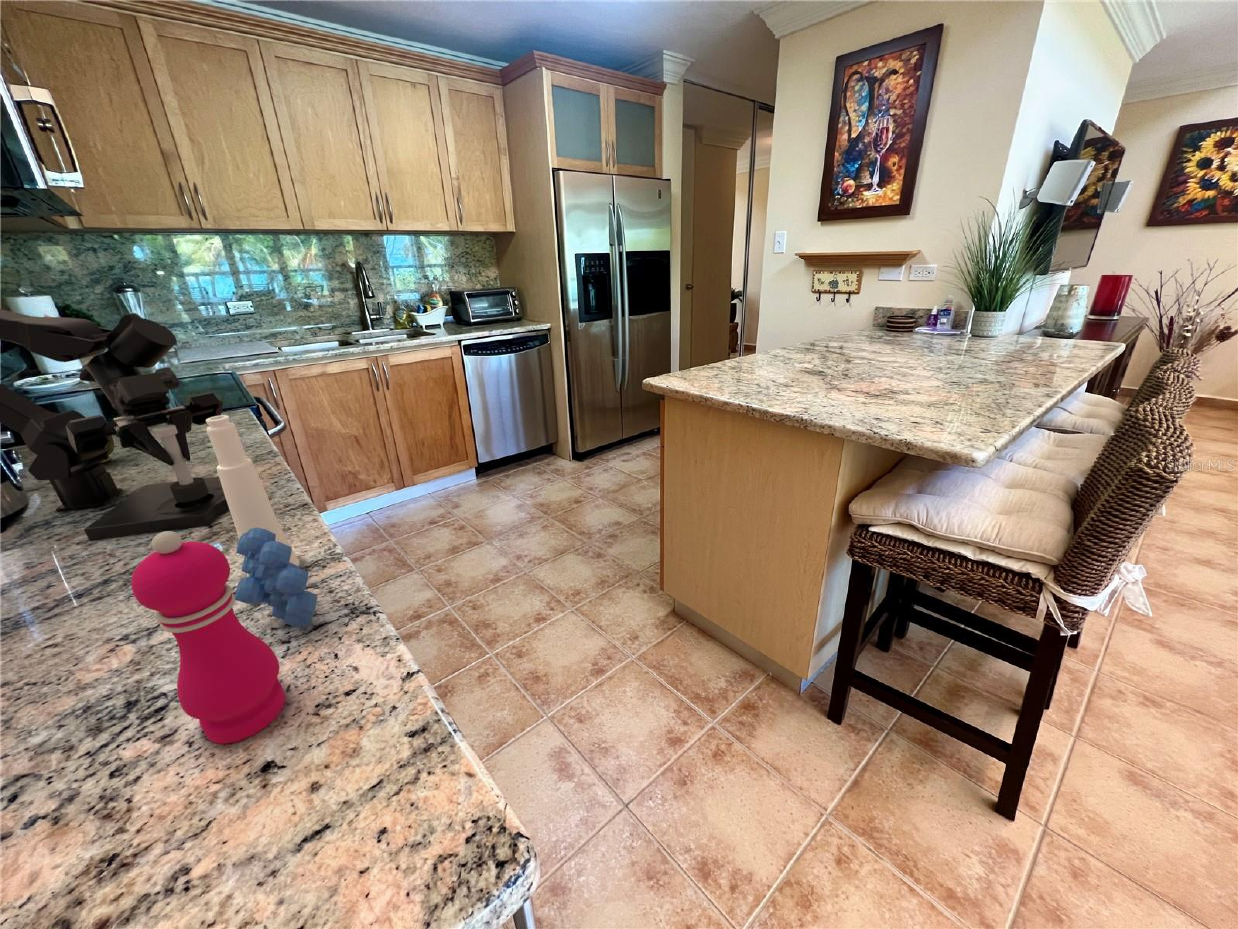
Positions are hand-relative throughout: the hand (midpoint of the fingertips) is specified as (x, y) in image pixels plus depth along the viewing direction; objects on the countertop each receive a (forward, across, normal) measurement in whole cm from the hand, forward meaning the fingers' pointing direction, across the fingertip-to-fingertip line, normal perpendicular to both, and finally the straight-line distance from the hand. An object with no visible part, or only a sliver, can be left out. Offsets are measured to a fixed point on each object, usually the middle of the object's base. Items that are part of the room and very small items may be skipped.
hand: (180, 462), depth 79 cm
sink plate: (+3, -1, +11) cm, 11 cm away
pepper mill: (+42, -15, -29) cm, 54 cm away
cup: (-24, -2, +38) cm, 45 cm away
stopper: (+4, 0, +6) cm, 7 cm away
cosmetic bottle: (+27, -2, -13) cm, 30 cm away
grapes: (+35, -7, -22) cm, 42 cm away
